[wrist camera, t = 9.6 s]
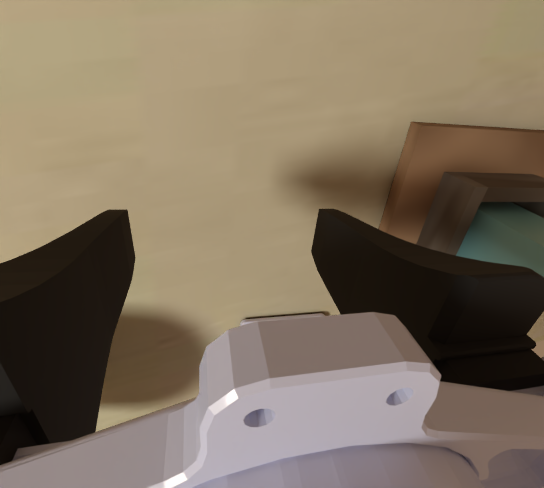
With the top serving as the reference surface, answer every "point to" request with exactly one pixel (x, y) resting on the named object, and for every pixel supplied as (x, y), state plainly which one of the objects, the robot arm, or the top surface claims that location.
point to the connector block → (505, 236)
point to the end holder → (461, 180)
